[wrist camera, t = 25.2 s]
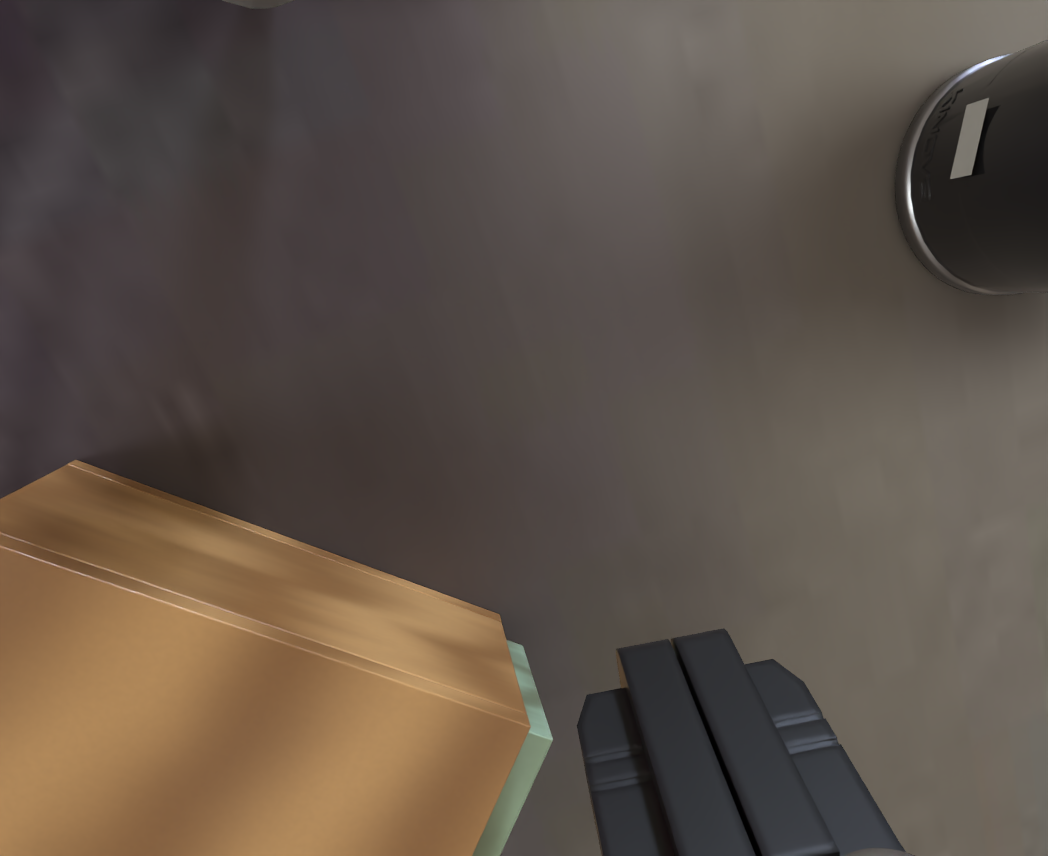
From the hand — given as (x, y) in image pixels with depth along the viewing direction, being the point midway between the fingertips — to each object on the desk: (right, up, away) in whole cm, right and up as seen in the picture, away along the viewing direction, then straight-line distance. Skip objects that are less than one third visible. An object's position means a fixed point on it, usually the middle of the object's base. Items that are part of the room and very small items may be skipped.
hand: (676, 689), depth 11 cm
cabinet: (-14, -8, +22) cm, 27 cm away
